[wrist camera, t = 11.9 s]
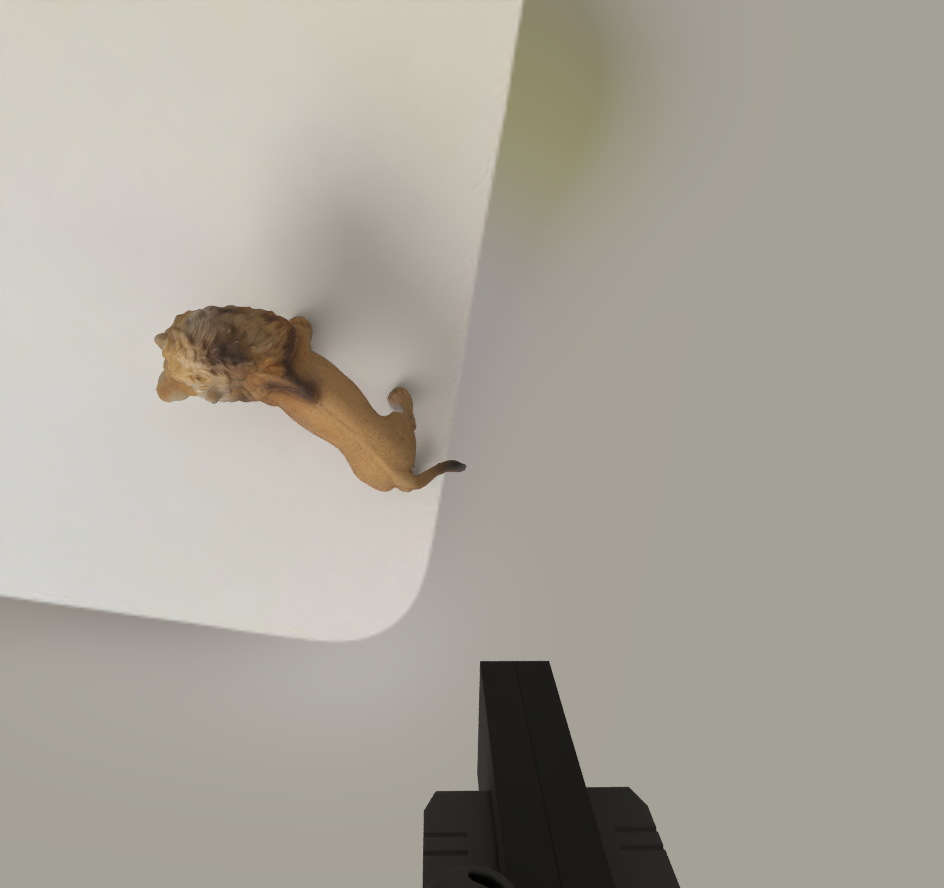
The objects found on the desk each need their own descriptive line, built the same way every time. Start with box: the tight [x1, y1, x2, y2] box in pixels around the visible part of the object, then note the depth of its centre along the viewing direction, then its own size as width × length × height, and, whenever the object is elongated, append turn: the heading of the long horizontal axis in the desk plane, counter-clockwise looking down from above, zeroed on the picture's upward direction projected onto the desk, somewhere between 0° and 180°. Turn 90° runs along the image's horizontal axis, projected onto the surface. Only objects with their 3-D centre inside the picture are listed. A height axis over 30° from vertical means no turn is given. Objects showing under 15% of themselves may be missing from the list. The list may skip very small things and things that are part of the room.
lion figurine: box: [154, 305, 466, 492], centre depth 36 cm, size 15×5×9 cm, turn 60°
